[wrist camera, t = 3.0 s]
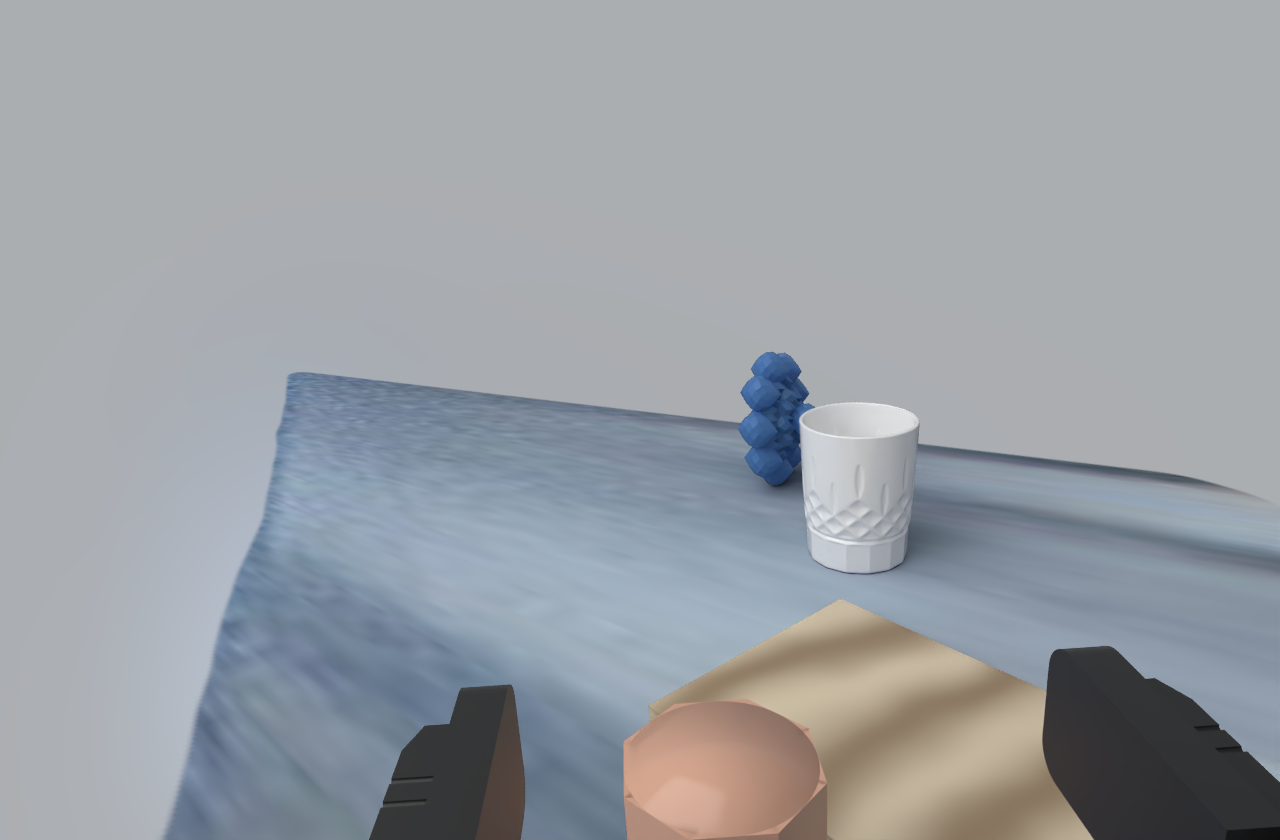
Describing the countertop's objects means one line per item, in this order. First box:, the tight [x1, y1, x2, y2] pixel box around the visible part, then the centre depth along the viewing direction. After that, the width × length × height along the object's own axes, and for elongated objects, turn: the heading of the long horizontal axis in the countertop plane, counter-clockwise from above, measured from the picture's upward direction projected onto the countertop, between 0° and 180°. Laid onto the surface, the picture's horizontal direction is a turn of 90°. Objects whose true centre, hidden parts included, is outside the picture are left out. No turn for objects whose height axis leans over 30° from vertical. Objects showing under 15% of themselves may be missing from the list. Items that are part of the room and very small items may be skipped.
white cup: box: [799, 402, 920, 574], centre depth 59 cm, size 8×8×10 cm
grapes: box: [738, 352, 815, 485], centre depth 71 cm, size 12×7×12 cm, turn 152°
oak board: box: [649, 599, 1094, 840], centre depth 39 cm, size 20×15×2 cm
